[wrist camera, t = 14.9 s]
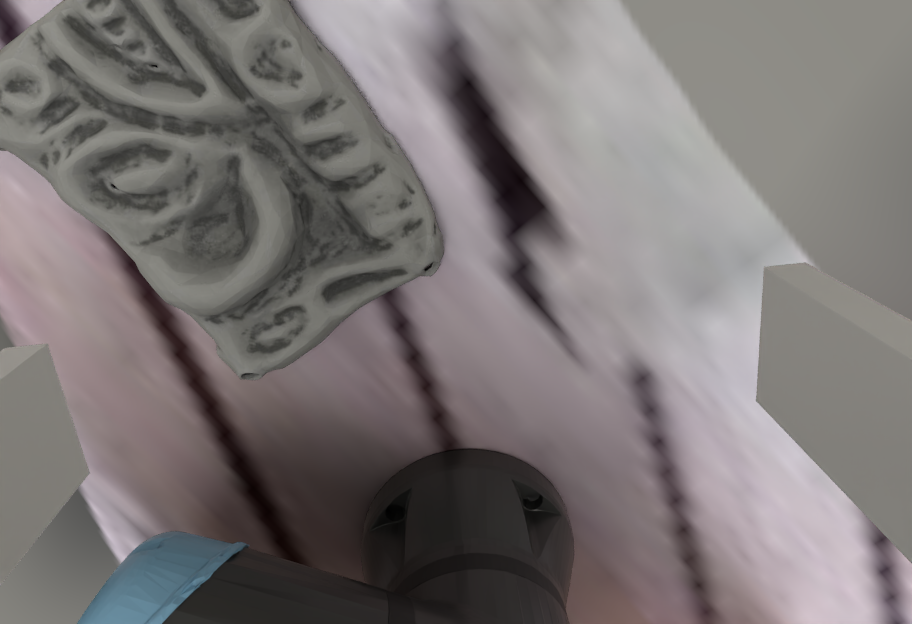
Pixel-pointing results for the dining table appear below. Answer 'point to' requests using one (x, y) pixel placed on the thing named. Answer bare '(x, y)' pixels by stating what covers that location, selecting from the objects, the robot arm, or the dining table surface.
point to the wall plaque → (221, 164)
